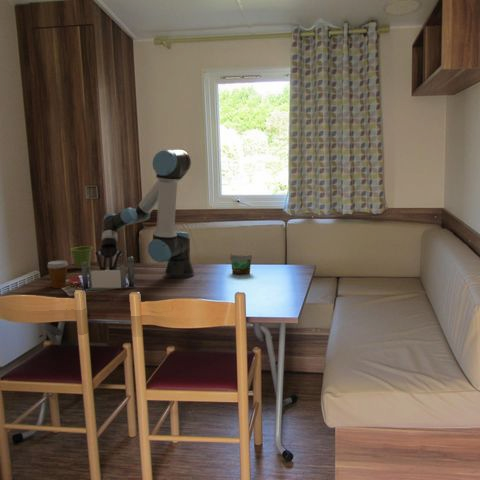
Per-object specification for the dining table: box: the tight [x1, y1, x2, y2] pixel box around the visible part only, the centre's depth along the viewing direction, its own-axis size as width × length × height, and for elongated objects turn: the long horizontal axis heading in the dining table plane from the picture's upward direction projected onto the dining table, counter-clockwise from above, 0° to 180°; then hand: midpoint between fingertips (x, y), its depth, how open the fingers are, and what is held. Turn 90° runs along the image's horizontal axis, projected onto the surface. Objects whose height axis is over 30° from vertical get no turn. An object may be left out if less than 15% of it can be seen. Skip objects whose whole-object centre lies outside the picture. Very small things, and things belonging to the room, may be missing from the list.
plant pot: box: [69, 245, 93, 270], centre depth 291 cm, size 12×12×11 cm
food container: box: [229, 253, 253, 276], centre depth 271 cm, size 12×6×10 cm, turn 68°
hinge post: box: [81, 262, 91, 291], centre depth 245 cm, size 4×4×13 cm
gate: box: [87, 265, 127, 289], centre depth 246 cm, size 17×2×10 cm, turn 90°
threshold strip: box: [90, 285, 128, 290], centre depth 248 cm, size 17×3×1 cm, turn 96°
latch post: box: [126, 255, 137, 289], centre depth 248 cm, size 4×4×15 cm
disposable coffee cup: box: [46, 260, 69, 289], centre depth 251 cm, size 10×10×12 cm
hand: (106, 282), depth 248 cm, fingers closed
